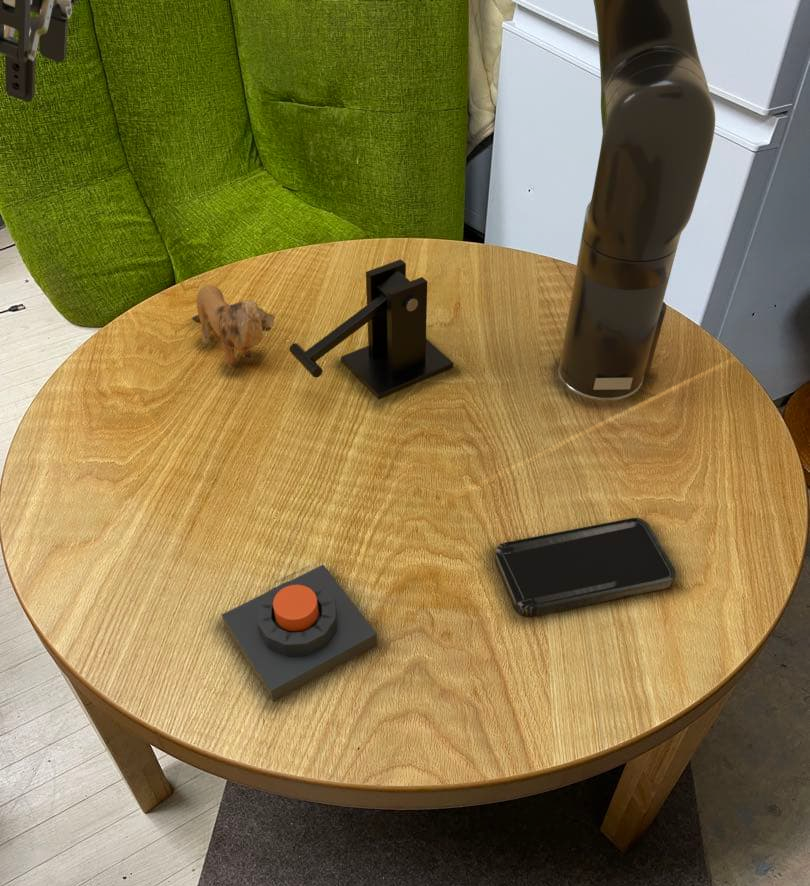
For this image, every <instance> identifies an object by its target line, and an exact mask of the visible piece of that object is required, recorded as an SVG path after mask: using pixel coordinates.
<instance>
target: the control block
mask: <svg viewBox="0 0 810 886" xmlns="http://www.w3.org/2000/svg"><path fill="white" fill-rule="evenodd" d="M336 580H337V579H336V578H334V577H333V575H332V574H331V573H330V571H329V570H328V569H327V568H326V566H325V565H324V564H321V565H319V566H317V567H315V568H313V569H311V570H309V571H307V572H305V573H303V574H301V575H299V576H297V577H295V578H293V579H290V580H288V581H285V582H283V583H281V584H279V585H277V586H275V587H273V588H271V589H269V590H268V591H266V592H264V593H263V594H260V595H258V596H256V597H254V598H252V599H251V600H248V601H247V602H244V603H242V604H241V605H238V606H236V607H234V608H232V609H230V610H228V611H225V612H224V613H222V614H221V618H222V622H223V625H224V628H225V629H226V631H227V633H229V635H230V637H231V638H232V640H233V642H234V644H235V645H236V646H237V648H238V650H239V651H240V653H241V654H242V655H243V657H244V658H245V660H246V662H247V664H248V665H249V667H250V668H251V670H252V671H253V672H254V674H255V676H256V678H257V679H258V680H259V683H261V686H262V687H263V688H264V690H265V691H266V693H267V695H268V696H269V697H270V699H271V700H272V702H273V703H274V702H276V701H278V700H279V699H281V698H283V697H285V696H286V695H287V696H288V694H290V693H292V692H294V691H296V690H298V689H299V688H302V687H303V686H305V685H306V684H309V683H311V682H313V681H314V680H316V679H318V678H320V677H321V676H324V675H325V674H327V673H329V672H331V671H333V670H334V669H336V668H338V667H339V666H342V665H344V664H345V663H348V661H351V660H353V659H354V658H356V657H359V656H360V655H362V654H364V653H366V652H367V651H369V650H370V649H372V648H374V647H377V646H378V633H377V632H376V631H375V630H374V628H373V627H372V625H371V624H370V623H369V621H368V620H367V619H366V617H364V615H363V614H362V613H361V612H360V610H359V608H358V607H357V606H356V605H355V604H354V602H353V601H352V600H351V598H350V597H349V596H348V594H346V592H345V591H344V589H343V588H342V587H341V585H340V584H339V583H338V581H336ZM290 585H303V586H306V587H308V588H310V589H311V590H312V591H313V592H314V593H315V594H316V597H317V603H318V611H319V614H318V618H317V620H316V622H315V623H314V624H313V625H312V626H311V627H309V628H308V629H306V630H303V631H297V632H293V631H288V630H285V629H283V628H282V627H281V626H280V625H279V624H278V623H277V621H276V618H275V613H274V608H273V600H274V598H275V596H276V594H277V593H278V592H279V591H280V590H281V589H283V588H285V587H287V586H290Z"/></svg>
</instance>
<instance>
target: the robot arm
mask: <svg viewBox="0 0 810 886" xmlns="http://www.w3.org/2000/svg"><path fill="white" fill-rule="evenodd" d="M78 1H79V0H0V54H2V55H4V57H5V92H6V93H7V94H8V95H9V96H10V97H13V98H14V99H18V100H20V101H23V102H27V103H29V102H31V101H32V100H33V99H34V98H35V95H36V57H37V51H38V50H39V53H40V55H41V56H42V57H44V58H47V59H49V60H52V61H53V62H54V61H55V62H57V63H63V61H65V59H66V57H67V45H68V43H67V42H68V21H69V19H70V18H71V16H72V15H73V5H77V3H78ZM592 1H593V5H594V13H595V20H596V29H597V37H598V38H597V40H598V42H597V43H598V54H599V55H598V56H599V66H600V67H599V69H600V70H599V71H600V119H601V130H602V136H601V143H600V151H599V156H598V162H597V168H596V171H595V172H596V173H595V178H594V183H593V189H592V193H591V194H592V195H591V199H590V201H589V203H588V204H587V206H586V209H585V214H584V221H583V226H582V232H581V237H580V244H579V249H578V256H577V262H576V267H575V272H574V273H575V274H574V278H573V279H574V280H573V286H572V291H571V297H570V303H569V309H568V313H567V321H566V326H565V331H564V338H563V343H562V344H563V345H562V348H561V354H560V360H559V362H558V367H557V375H558V378H559V380H560V382H561V384H562V385H563V386H564V387H565V388H566V389H567V390H569V392H571V393H573V394H574V395H577V396H579V397H581V398H584V399H587V400H589V401H596V402H617V401H618V402H619V401H622V400H626V399H627V398H630V397H632V396H634V395H635V394H637V392H638V391H639V390H640V389H641V387H642V385H643V382H644V378H645V377H647V376H649V374H650V371H651V367H652V364H653V360H654V356H655V353H656V349H657V345H658V342H659V339H660V338H659V337H660V334H661V331H662V327H663V323H664V319H665V317H666V316H665V315H666V313H667V304H666V302H665V301H664V299H665V296H666V292H667V287H668V285H669V281H670V276H671V272H672V268H673V265H674V261H675V257H676V254H677V250H678V245H679V243H680V239H681V235H682V232H683V231H684V230H685V228H686V227H687V225H688V224H689V221H690V220H691V217H692V214H693V211H694V209H695V204H696V201H697V199H698V195H699V191H700V188H701V185H702V182H703V178H704V175H705V172H706V168H707V166H708V165H707V164H708V161H709V158H710V154H711V150H712V144H713V141H714V136H715V130H716V111H715V105H714V102H713V99H712V96H711V92H710V88H709V84H708V80H707V78H706V73H705V71H704V69H703V65H702V63H701V59H700V56H699V52H698V47H697V43H696V39H695V34H694V29H693V24H692V19H691V13H690V8H689V1H688V0H592ZM31 13H32V14H35V15H37V16H36V17H34V16H31ZM16 31H17V33H18V36H17V38H15V32H16ZM38 45H39V46H38Z"/></svg>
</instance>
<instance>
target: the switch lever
mask: <svg viewBox="0 0 810 886" xmlns="http://www.w3.org/2000/svg"><path fill="white" fill-rule="evenodd" d="M410 281H411V280H410V279H408V278H407V276H406V277H405V276H404V275H402V274H401V273H400V272H399V271H397V272H396V273H394V274H393V275H392V276H390V277H389V278H388V279H386V280H385V281H384V282H382V283H381V284H380V285H378V286H377V287H378V290H379V292H380V294H381V295H380V296H378V297H377V298H376V299H374V300H373V301H372V302H370V303H369V304H368V305H367V304H366V305H365V306H363V307H362V308H361V309H360V310H358V311H357V312H356V313H354V314H353V315H351V316H350V317H349V318H348V319H346V320H345V321H343V322H342V323H341V324H340V325H338V326H337V327H336V328H335V329H333V330H332V331H331V332H330V333H328V334H326V335H325V336H324V337H322V338H321V339H320V340H318V341H317V342H316V343H314V344H313V345H312V346H311V347H309V348H308V349H307V350H304V348H303V347H302V346H301V345H300V344H299V343H297V342H294V343H292V344H291V345H290V346H289V349H288V350H289V352H290V353H291V355H292V356H293V357H294V358H295V359H296V360H297V361H298V362H299V363H300V364H301V365H302V366H303V367H304V369H305V370H306V371H307V372H308V373H309V374H310V375H311V376H312V377H313V378H314V379H315V378H316V379H317V378H319V377H321V376H322V375H323V368H322V367H321V366H320V365H319V364H318V363H317V362H318V360H320V359H321V358H323V357H324V356H325V355H326V354H328V353H329V352H330V351H332V350H333V349H335V348H336V347H338V345H339V344H341V343H342V342H344V341H345V340H346V339H348V338H349V337H350V336H351V335H353V334H355V333H356V332H357V331H358V330H359V329H361V328H362V327H363V326H364V325H366V324H368V322H369V321H370V320H371V319H373V318H374V317H375V316H377V315H378V314H379V313H380V312H382V311H383V310H384V309H386V308H387V290H388V289H391V288H394V287H397V286H399V285H402V284H405V283H407V282H410Z"/></svg>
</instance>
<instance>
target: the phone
mask: <svg viewBox="0 0 810 886" xmlns="http://www.w3.org/2000/svg"><path fill="white" fill-rule="evenodd" d="M494 562H495V564H496V567H497V570H498V572H499V575H500V577H501V579H502V582H503V583H504V586H505V589H506V592H507V594H508V596H509V599H510V601H511V604H512V606H513V609H514V610H515V612H516V613H517V614H518V615H521V616H523V617H527V618H528V617H534V616H539V615H545V614H550V613H554V612H559V611H564V610H568V609H573V608H578V607H584V606H588V605H592V604H597V603H603V602H607V601H612V600H616V599H617V600H618V599H622V598H626V597H631V596H637V595H641V594H646V593H651V592H655V591H661V590H666V589H668V588H670V587H671V586H672V585H673V583H674V581H675V577H676V573H677V572H676V569H675V567H674V565H673V564H672V562H671V560H670V558H669V556H668V555H667V553H666V551H665V550H664V548H663V547H662V545H661V543H660V541H659V540H658V537H657V536H656V534H655V532H654V531H653V529H652V528H651V525H650V524H649V523H648V521H646V520H645V519H643V518H640V517H631V518H625V519H620V520H616V521H610V522H604V523H599V524H595V525H590V526H589V525H588V526H584V527H579V528H574V529H569V530H563V531H558V532H552V533H548V534H543V535H542V534H541V535H537V536H532V537H531V536H530V537H527V538H522V539H516V540H511V541H505V542H502V543H500V544H499V545H498V546H497V547H496V549H495V554H494Z"/></svg>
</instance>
